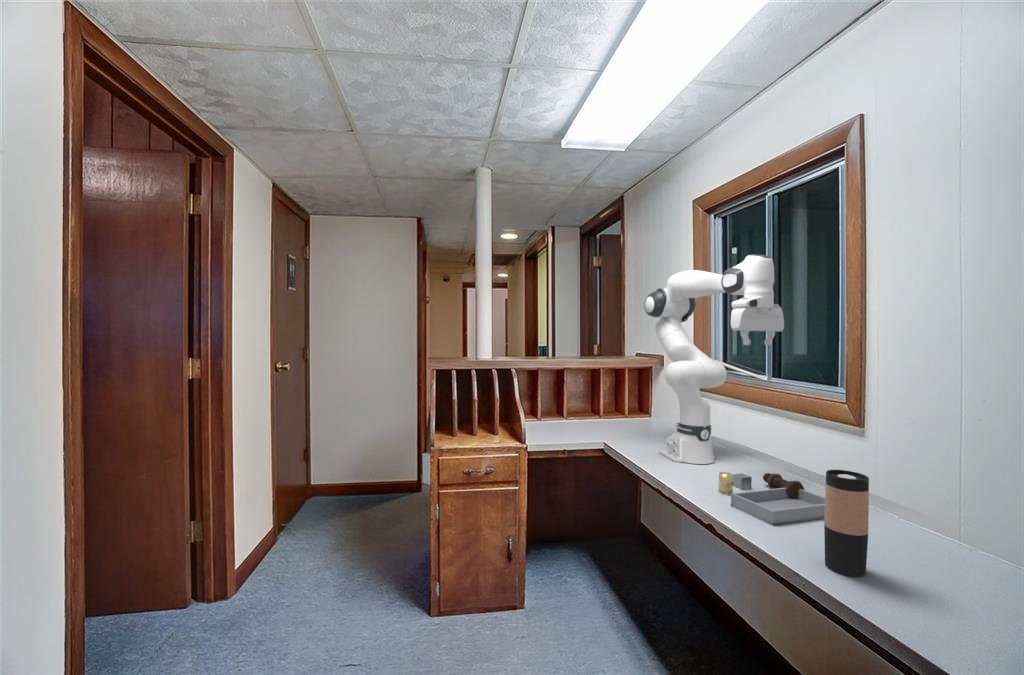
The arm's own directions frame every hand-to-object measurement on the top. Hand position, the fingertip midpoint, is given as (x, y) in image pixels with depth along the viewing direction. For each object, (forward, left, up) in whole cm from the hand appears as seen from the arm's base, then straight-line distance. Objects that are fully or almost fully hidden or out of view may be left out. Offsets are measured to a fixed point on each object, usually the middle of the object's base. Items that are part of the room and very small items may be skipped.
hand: (757, 345), depth 160 cm
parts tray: (+22, -12, -46) cm, 52 cm away
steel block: (+2, -8, -46) cm, 47 cm away
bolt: (+10, +1, -46) cm, 47 cm away
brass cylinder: (+5, -17, -46) cm, 49 cm away
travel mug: (+52, -28, -46) cm, 75 cm away
